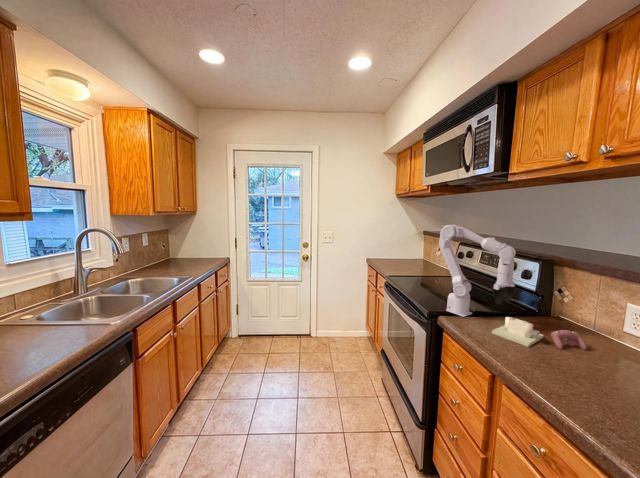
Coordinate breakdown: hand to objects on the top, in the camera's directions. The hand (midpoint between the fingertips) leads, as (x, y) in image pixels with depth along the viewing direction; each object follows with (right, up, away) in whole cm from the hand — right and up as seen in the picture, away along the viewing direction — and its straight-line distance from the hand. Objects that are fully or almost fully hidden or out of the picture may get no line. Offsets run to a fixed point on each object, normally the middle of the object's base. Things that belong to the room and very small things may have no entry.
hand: (502, 302), depth 125 cm
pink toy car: (+12, -12, -20) cm, 26 cm away
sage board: (-1, -11, -11) cm, 16 cm away
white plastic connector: (-1, -10, -12) cm, 15 cm away
